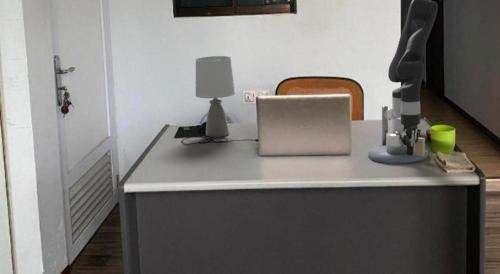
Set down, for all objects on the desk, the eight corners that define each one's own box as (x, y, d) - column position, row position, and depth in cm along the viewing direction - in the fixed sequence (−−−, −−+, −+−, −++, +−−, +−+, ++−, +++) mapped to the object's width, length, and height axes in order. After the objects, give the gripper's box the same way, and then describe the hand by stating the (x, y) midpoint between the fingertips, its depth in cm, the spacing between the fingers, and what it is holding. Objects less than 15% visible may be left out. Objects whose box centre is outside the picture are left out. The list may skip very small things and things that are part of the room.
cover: (393, 147, 318) (393, 128, 316) (415, 150, 312) (415, 130, 310) (381, 153, 310) (381, 132, 308) (403, 156, 304) (403, 135, 302)
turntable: (387, 146, 328) (387, 126, 326) (438, 153, 312) (438, 132, 311) (356, 158, 311) (356, 137, 309) (409, 166, 295) (409, 144, 293)
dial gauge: (383, 145, 330) (382, 104, 326) (403, 148, 324) (403, 106, 319) (373, 149, 324) (372, 108, 320) (393, 152, 318) (393, 110, 313)
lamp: (191, 138, 362) (186, 60, 353) (208, 129, 378) (204, 55, 370) (227, 140, 354) (222, 61, 346) (242, 131, 371) (239, 55, 363)
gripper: (410, 116, 289) (410, 160, 293) (427, 110, 299) (427, 152, 302) (393, 114, 294) (393, 157, 298) (410, 108, 303) (410, 150, 307)
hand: (410, 155), depth 300 cm, fingers closed
